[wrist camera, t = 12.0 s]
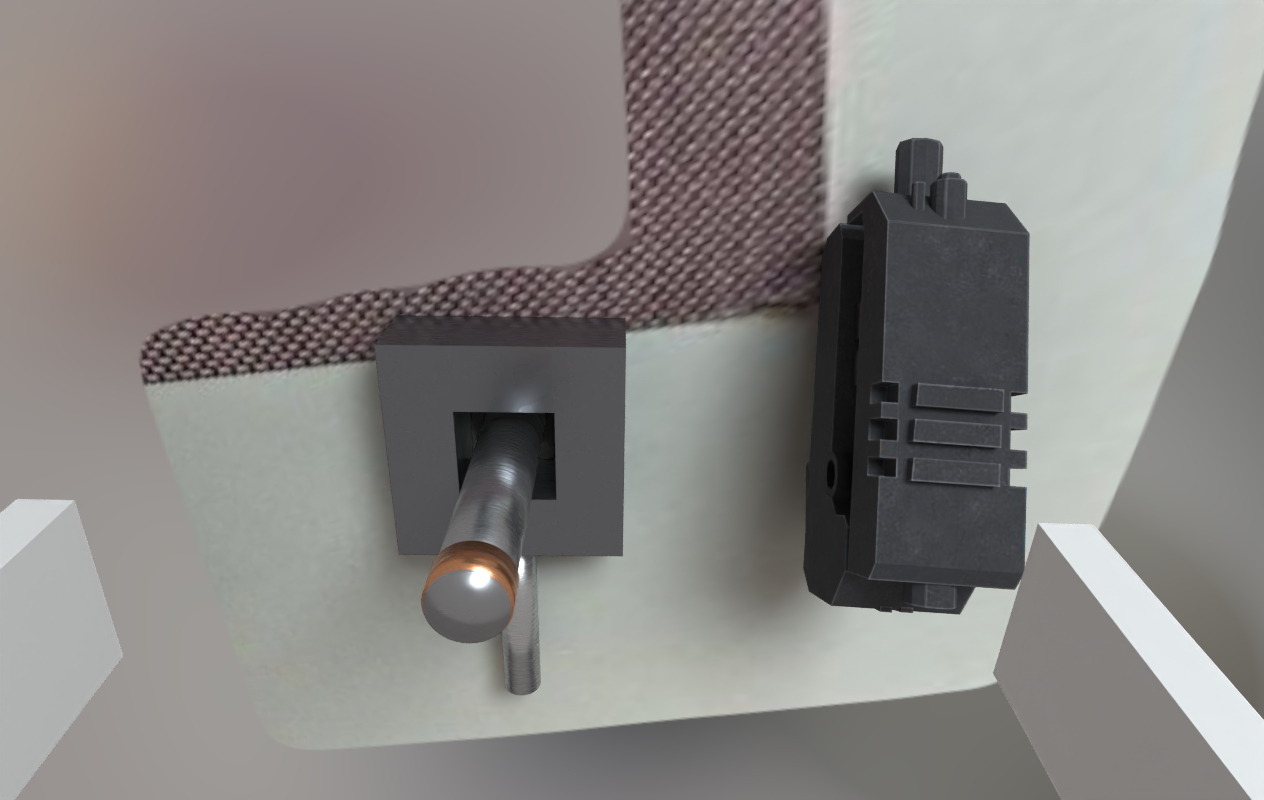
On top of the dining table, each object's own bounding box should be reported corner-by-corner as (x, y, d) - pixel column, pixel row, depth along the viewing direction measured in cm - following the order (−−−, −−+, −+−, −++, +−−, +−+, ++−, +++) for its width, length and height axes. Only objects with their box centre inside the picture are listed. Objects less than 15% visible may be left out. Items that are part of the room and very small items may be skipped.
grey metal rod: (482, 390, 42) (416, 570, 28) (546, 391, 42) (511, 571, 28) (486, 447, 43) (424, 645, 29) (548, 447, 43) (515, 645, 29)
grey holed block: (396, 315, 40) (374, 344, 36) (625, 318, 40) (625, 347, 37) (432, 656, 49) (417, 708, 45) (620, 657, 49) (620, 709, 45)
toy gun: (767, 578, 43) (864, 631, 28) (788, 218, 45) (889, 89, 30) (883, 586, 43) (1038, 642, 29) (899, 228, 45) (1053, 106, 30)
